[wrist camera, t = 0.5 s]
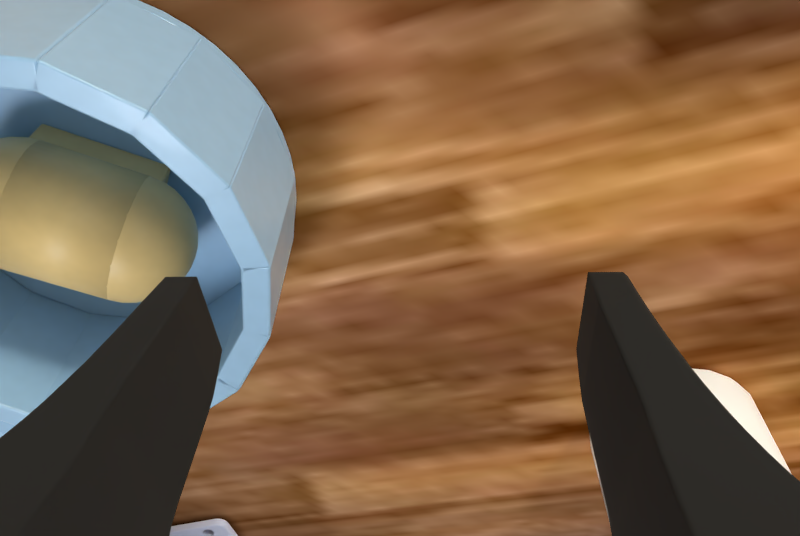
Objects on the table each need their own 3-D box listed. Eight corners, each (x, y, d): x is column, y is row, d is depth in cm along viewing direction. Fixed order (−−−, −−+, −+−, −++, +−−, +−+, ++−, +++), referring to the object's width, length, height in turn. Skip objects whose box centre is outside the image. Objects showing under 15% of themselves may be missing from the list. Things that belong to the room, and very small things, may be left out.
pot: (48, 352, 28) (-20, 465, 24) (-193, 52, 21) (-353, 135, 17) (347, 284, 26) (334, 395, 22) (193, -79, 19) (126, -22, 14)
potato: (-19, 201, 23) (-87, 274, 20) (-13, 94, 21) (-89, 157, 18) (197, 267, 25) (165, 345, 22) (223, 174, 23) (192, 245, 20)
